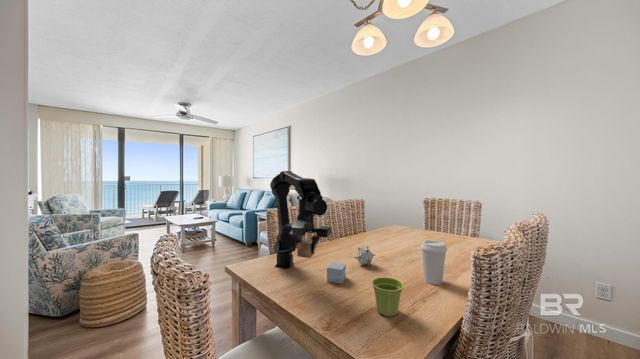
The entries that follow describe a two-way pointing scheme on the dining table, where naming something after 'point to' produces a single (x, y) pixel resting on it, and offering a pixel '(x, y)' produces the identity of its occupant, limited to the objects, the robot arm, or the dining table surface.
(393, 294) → the plant pot
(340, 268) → the slab top
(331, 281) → the slab bottom
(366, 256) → the game die
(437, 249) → the coffee cup
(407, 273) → the dining table surface
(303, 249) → the walnut cube
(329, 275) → the slab middle
